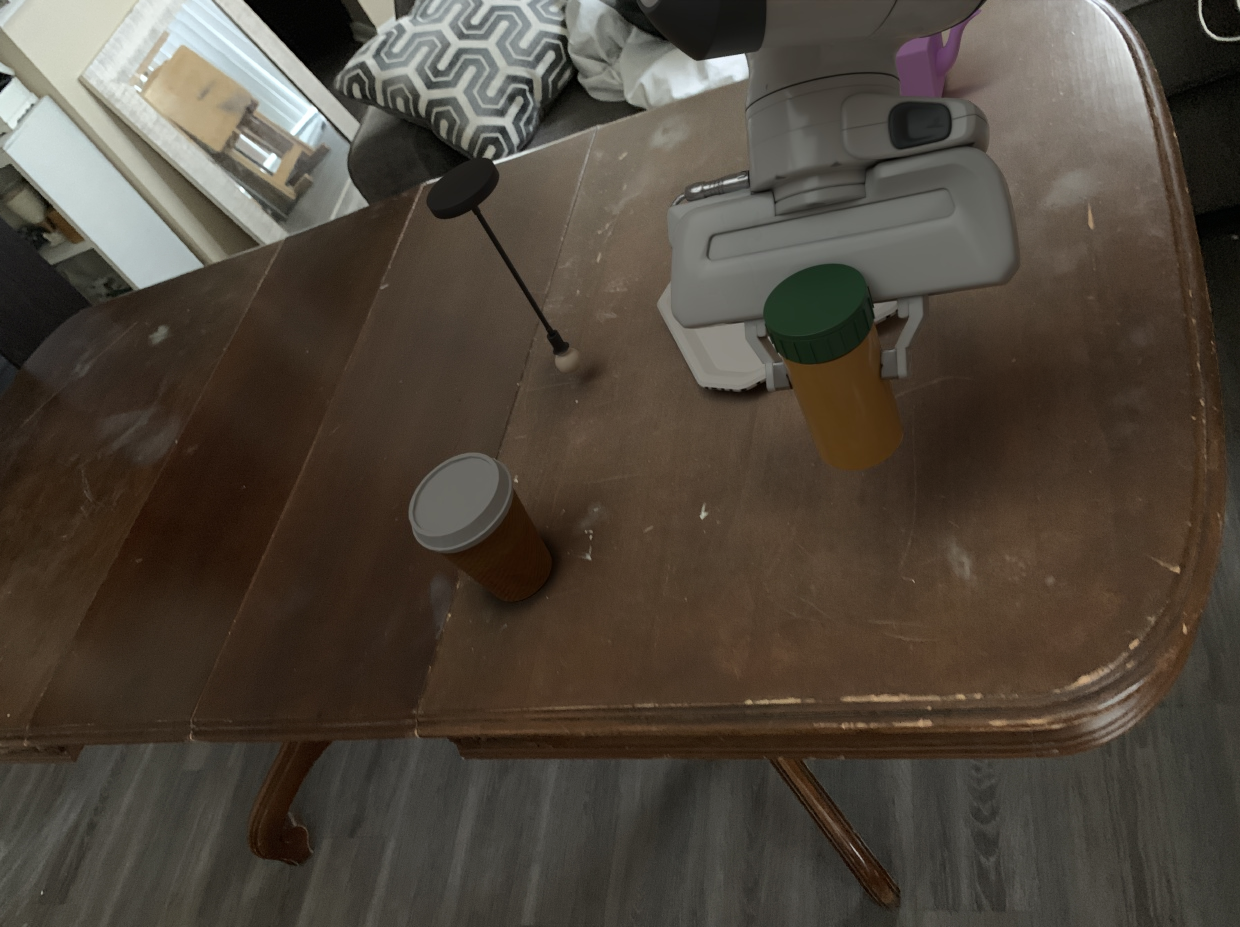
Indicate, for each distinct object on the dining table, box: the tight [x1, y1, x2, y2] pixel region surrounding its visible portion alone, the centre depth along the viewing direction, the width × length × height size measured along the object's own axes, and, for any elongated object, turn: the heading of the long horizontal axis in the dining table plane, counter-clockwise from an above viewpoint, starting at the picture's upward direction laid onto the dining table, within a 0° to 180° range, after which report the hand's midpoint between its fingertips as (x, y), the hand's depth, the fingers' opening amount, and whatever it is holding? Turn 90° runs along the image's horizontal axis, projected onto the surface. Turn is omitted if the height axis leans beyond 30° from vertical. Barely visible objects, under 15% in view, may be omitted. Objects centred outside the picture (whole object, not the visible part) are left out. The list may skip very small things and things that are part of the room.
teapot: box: [896, 8, 982, 98], centre depth 93 cm, size 18×13×10 cm
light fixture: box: [425, 157, 582, 375], centre depth 85 cm, size 7×7×25 cm
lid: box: [763, 263, 875, 364], centre depth 52 cm, size 6×6×2 cm
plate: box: [656, 280, 898, 393], centre depth 86 cm, size 21×21×2 cm
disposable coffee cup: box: [408, 452, 553, 603], centre depth 77 cm, size 10×10×12 cm
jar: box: [780, 321, 904, 471], centre depth 56 cm, size 6×6×12 cm
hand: (838, 385), depth 55 cm, fingers closed on jar, 5 cm apart
